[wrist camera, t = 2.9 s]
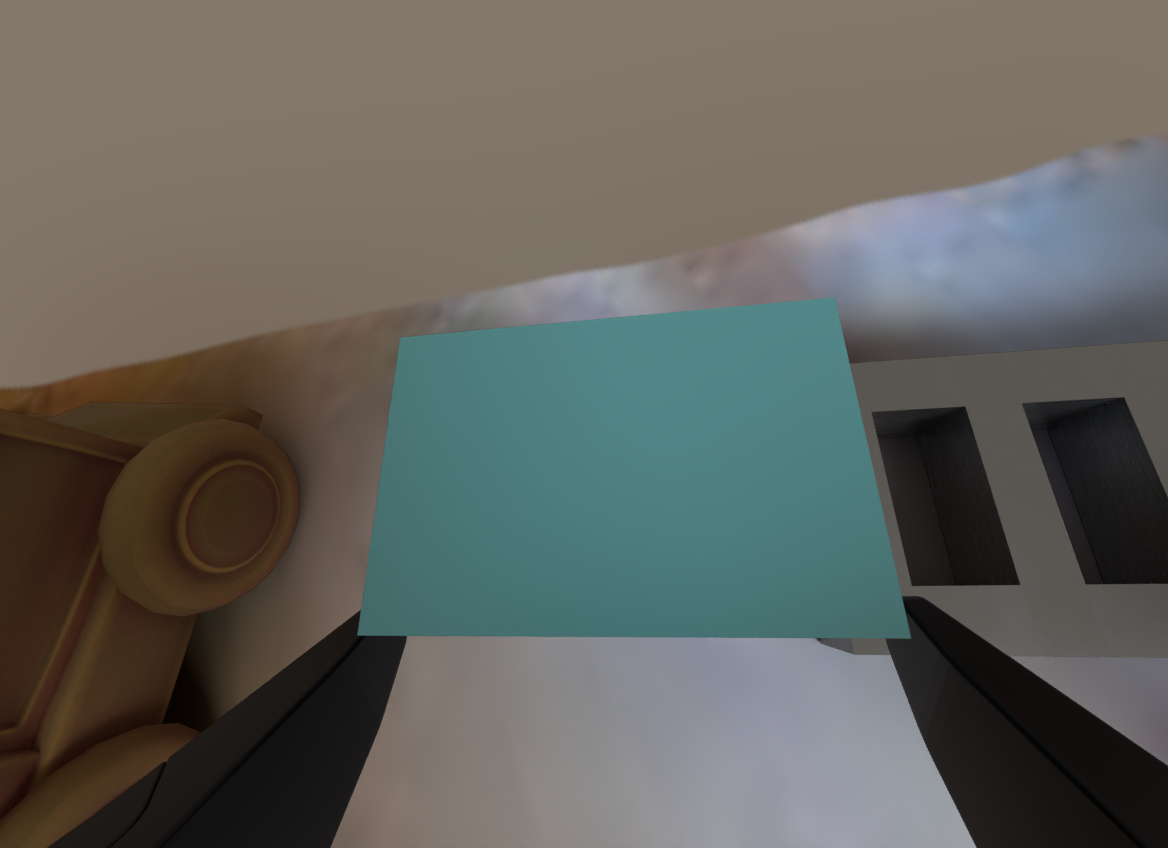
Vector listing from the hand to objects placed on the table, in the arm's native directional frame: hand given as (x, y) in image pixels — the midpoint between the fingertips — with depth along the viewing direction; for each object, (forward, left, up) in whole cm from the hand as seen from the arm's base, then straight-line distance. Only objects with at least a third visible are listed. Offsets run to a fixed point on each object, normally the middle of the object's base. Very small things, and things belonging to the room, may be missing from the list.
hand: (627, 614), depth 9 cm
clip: (+2, -1, -9) cm, 10 cm away
